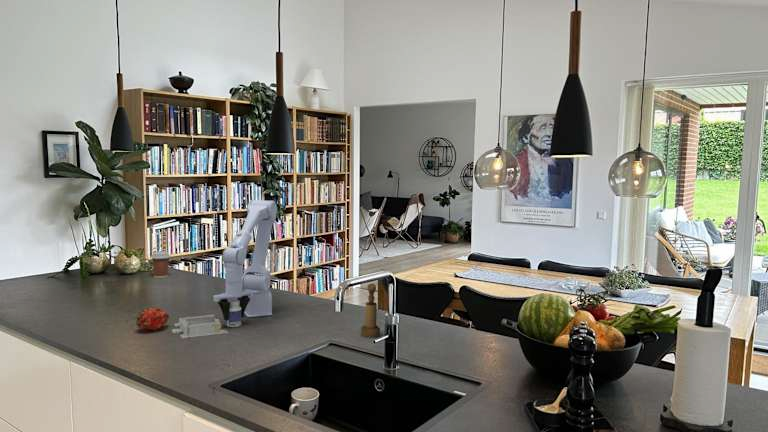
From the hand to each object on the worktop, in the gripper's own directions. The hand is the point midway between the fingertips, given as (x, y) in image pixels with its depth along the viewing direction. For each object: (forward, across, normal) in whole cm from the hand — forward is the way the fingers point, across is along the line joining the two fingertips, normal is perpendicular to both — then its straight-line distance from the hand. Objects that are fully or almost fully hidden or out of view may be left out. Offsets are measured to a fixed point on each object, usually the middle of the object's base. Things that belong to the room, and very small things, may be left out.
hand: (233, 318), depth 194 cm
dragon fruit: (+3, +24, -12) cm, 27 cm away
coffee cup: (+3, -12, -95) cm, 96 cm away
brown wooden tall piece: (+3, -31, +38) cm, 49 cm away
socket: (+2, +12, -3) cm, 12 cm away
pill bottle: (+3, 0, 0) cm, 3 cm away
